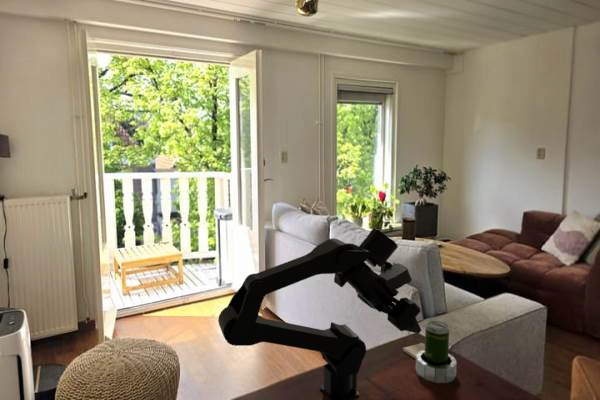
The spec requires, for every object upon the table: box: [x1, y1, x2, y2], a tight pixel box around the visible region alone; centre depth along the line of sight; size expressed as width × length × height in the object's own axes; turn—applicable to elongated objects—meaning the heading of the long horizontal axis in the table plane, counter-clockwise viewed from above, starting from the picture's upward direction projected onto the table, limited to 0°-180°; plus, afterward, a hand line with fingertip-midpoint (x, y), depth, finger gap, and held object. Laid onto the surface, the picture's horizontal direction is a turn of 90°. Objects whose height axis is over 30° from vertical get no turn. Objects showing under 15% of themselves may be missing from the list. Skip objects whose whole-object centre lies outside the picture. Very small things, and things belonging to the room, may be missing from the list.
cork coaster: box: [402, 342, 425, 360], centre depth 109 cm, size 6×6×1 cm
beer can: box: [424, 320, 450, 366], centre depth 99 cm, size 5×5×12 cm
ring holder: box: [415, 350, 458, 384], centre depth 100 cm, size 9×9×4 cm
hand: (408, 323), depth 96 cm, fingers open, 9 cm apart
